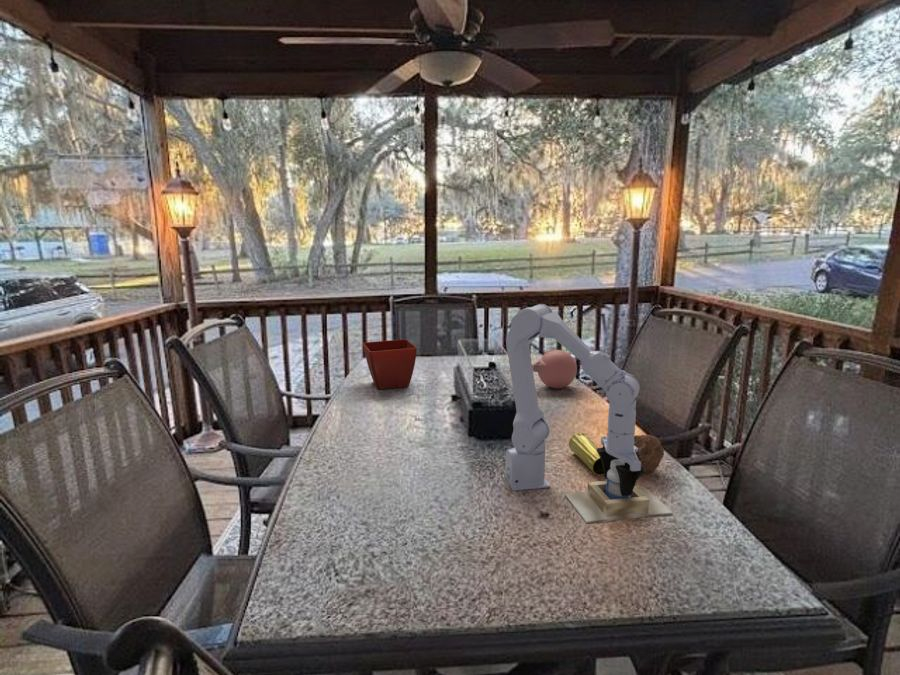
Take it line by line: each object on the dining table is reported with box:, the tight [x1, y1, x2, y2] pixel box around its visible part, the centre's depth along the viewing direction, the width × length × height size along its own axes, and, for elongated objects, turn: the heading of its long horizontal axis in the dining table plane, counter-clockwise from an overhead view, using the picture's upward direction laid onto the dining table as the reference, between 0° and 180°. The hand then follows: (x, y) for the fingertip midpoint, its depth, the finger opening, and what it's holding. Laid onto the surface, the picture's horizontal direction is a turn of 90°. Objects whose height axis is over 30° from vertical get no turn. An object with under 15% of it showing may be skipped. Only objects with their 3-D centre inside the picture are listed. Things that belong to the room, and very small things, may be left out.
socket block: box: [564, 480, 673, 524], centre depth 115 cm, size 20×12×3 cm, turn 99°
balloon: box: [532, 349, 578, 390], centre depth 202 cm, size 15×20×15 cm
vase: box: [568, 432, 604, 477], centre depth 136 cm, size 6×6×14 cm
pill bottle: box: [606, 459, 631, 500], centre depth 115 cm, size 6×5×10 cm
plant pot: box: [362, 338, 418, 390], centre depth 209 cm, size 19×19×17 cm
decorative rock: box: [634, 434, 665, 475], centre depth 131 cm, size 13×11×10 cm
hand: (617, 486), depth 115 cm, fingers open, 7 cm apart
